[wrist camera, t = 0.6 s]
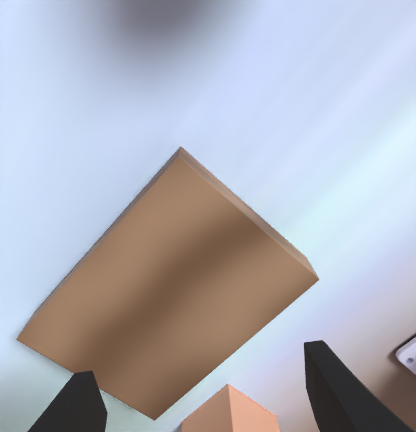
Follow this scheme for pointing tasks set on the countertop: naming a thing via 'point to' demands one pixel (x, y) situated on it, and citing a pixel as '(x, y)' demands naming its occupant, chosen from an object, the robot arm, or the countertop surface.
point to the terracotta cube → (230, 414)
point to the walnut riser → (169, 290)
